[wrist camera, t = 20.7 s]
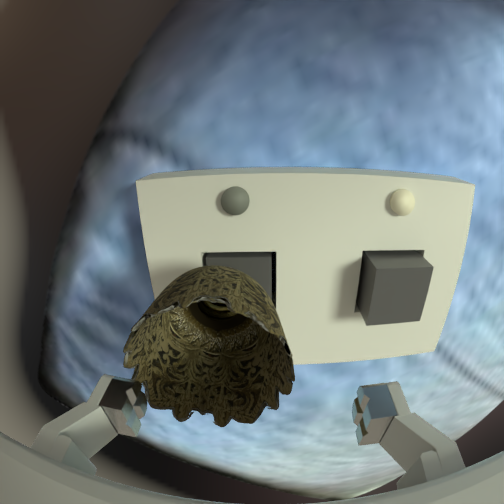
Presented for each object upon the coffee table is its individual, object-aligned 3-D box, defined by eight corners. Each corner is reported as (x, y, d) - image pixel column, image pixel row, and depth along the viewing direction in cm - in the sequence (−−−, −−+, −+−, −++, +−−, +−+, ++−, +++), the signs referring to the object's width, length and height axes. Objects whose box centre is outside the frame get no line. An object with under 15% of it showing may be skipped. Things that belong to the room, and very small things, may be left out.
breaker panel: (153, 173, 20) (133, 182, 16) (452, 176, 18) (478, 186, 15) (178, 338, 25) (168, 364, 22) (421, 330, 24) (436, 354, 21)
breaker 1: (214, 239, 21) (205, 257, 18) (270, 238, 21) (271, 257, 18) (218, 288, 23) (211, 312, 20) (271, 288, 23) (271, 312, 20)
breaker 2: (361, 247, 19) (376, 268, 16) (413, 247, 19) (433, 266, 16) (354, 299, 21) (366, 325, 18) (403, 296, 20) (419, 320, 17)
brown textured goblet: (293, 246, 18) (320, 326, 10) (266, 342, 21) (272, 435, 13) (170, 223, 17) (116, 289, 10) (162, 323, 20) (128, 410, 13)
